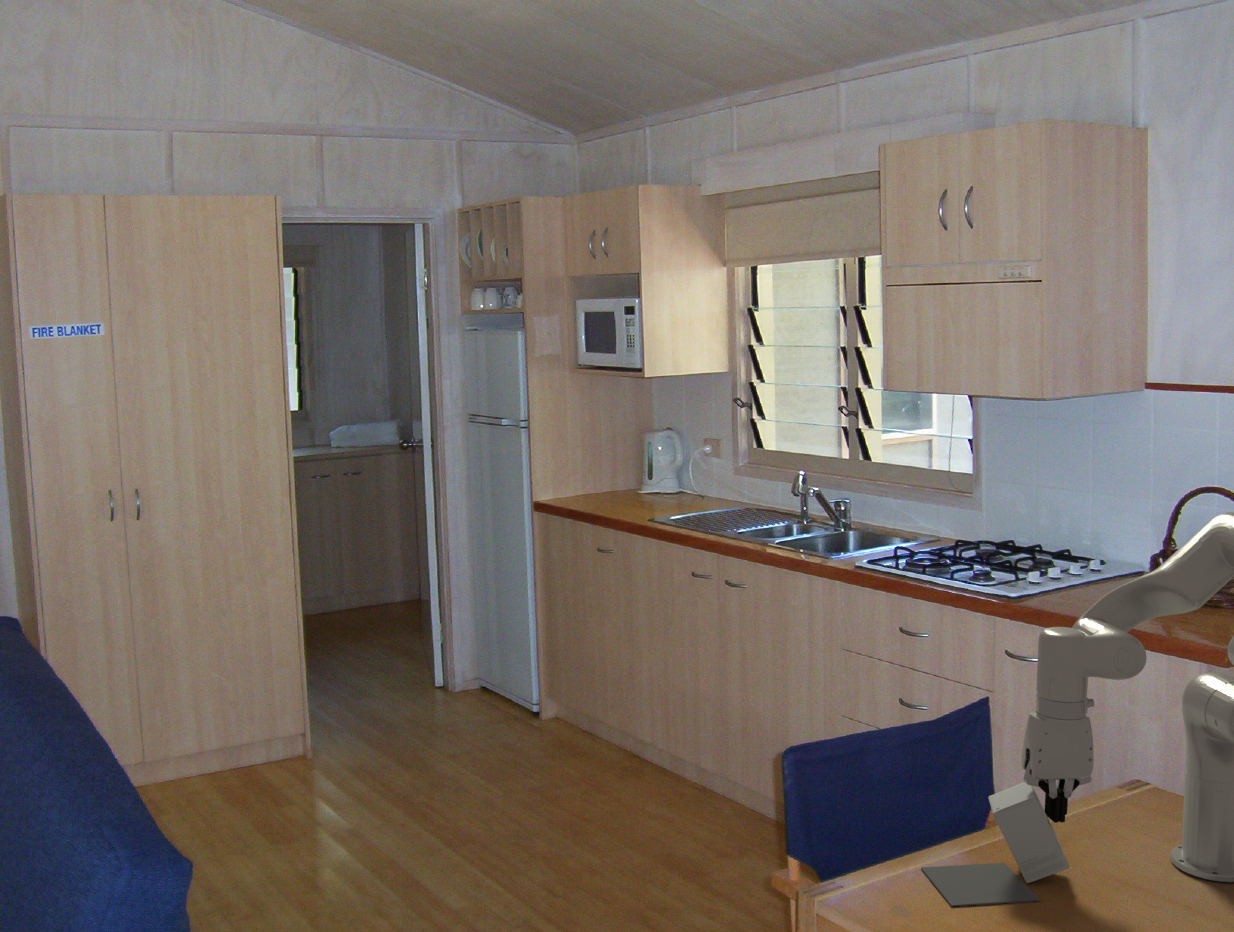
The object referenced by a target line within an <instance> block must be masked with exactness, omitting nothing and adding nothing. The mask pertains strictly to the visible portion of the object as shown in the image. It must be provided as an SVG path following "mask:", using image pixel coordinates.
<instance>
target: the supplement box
mask: <svg viewBox="0 0 1234 932" xmlns="http://www.w3.org/2000/svg"><path fill="white" fill-rule="evenodd" d="M988 801H989V805H990V808H991V812H992V816H993V817H994V820H995V822H996V824H997V825H998V827H999V829H1000V832H1001V833H1002V835H1003V836H1002V837H1003V838H1004V841H1005V842H1006V843H1007V844H1006V845H1008V849H1010V853H1011V854H1012V856H1013V858H1014V860H1015V862H1016V865H1017V866H1018V870H1020V872H1021V875H1022V876H1023V879H1024V881H1025V884H1029V883H1032V882H1035V881H1038V880H1041V879H1044V878H1046V877H1050V876H1052V875H1055V874H1057V873H1060V872H1062V871H1065V870H1067V869H1070V865H1069V862H1068V860H1067V857H1066V855H1065V852H1064V849H1063V846H1062V844H1061V842H1060V840H1059V838H1058V837H1057V834H1056V832H1055V829H1054V828H1053V825H1052V823H1051V822H1050V818H1049V817H1047V815H1046V813H1045V808H1044V806H1043V804H1042V803H1041V801H1040V799H1039V796H1038V794H1037V793H1036V791H1035V789H1034V786H1031V785H1028V784H1026V783H1025V782H1024V781H1023V782H1020V783H1017V784H1016V785H1013V786H1010V787H1008V788H1005V789H1003V790H1001V791H999V792H996V793H994V794H991V795H988Z"/></svg>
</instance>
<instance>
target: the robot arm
mask: <svg viewBox="0 0 1234 932" xmlns="http://www.w3.org/2000/svg"><path fill="white" fill-rule="evenodd" d="M1233 578H1234V512H1231V511H1230V512H1223V513H1219V514H1217V515H1215V516H1214V517H1212V518H1211V519H1210V520H1209V521H1208V522H1207V523H1205V524H1204V525H1202V527H1201V528H1200V529H1199V530H1197V532H1195V534H1194V535H1192V536H1191V537H1190V538H1189V539H1188V540H1187V541H1186V542H1184V543H1183V545H1181V546H1180V547H1179V548H1177V550H1176V551H1175V552H1174V553H1173V554H1172V555H1170V556H1169V557H1168V558H1167V559H1166V560H1165V561H1164V562H1163V563H1162V564H1160V566H1158V567H1157V568H1155V569H1154V570H1152V571H1151V572H1149V573H1147V574H1143V575H1141V576H1139V577H1137V578H1135V579H1133V580H1131V581H1129V582H1126V583H1125V584H1122V585H1120V586H1118V587H1116V588H1114V589H1112V590H1110V591H1109V592H1108V593H1105V594H1104V595H1103V596H1101V598H1099V599H1098V600H1097V601H1096V602H1095V603H1093V604H1092V605H1091V606H1090V607H1089V608H1088V609H1087V610H1085V612H1084V613H1083V614H1081V616H1080V617H1079V618H1078V619H1077V620H1076V621H1075V622H1074V624H1073V625H1072V627H1067V626H1052V627H1051V626H1050V627H1047V628H1045V629H1043V630H1041V632H1040V634H1039V636H1038V644H1037V645H1038V646H1037V668H1036V669H1037V670H1036V671H1037V672H1036V690H1035V708H1034V709H1035V711H1030V712H1029V716H1028V719H1027V721H1026V722H1027V723H1026V726H1025V730H1024V736H1023V741H1022V743H1023V744H1022V751H1021V768H1022V769H1023V770H1024V776H1023V779H1022V780H1023V782H1025V783H1026V784H1028V785H1031V786H1032V787H1036V788H1037V787H1038V788H1040V789H1041V790H1042V791H1043V792H1044V793H1045V794H1044V795H1045V797H1044V811H1045V813H1046V815H1047V817H1048V819H1049V820H1051V821H1052V822H1053V823H1054V824H1055V823H1056V824H1057V823H1059V822H1060V823H1065V822H1066V815H1068V806H1069V805H1068V804H1069V803H1068V801H1069V798H1071V797H1072V794H1073V792H1074V791H1075V790H1076V789H1077V788H1078V787H1079V786H1083V785H1087V784H1089V783H1091V782H1092V774H1093V770H1094V738H1093V728H1092V724H1091V719H1090V716H1089V715H1088V709H1090V708H1094V707H1095V701H1094V699H1093V698H1088V687H1089V686H1088V685H1089V684H1088V682H1089V678H1098V679H1104V680H1106V679H1107V680H1112V681H1113V680H1114V681H1123V680H1129V679H1133V678H1134V677H1136V676H1138V675H1139V674H1140V673H1142V671H1143V669H1144V668H1145V667H1146V663H1147V659H1148V658H1147V657H1148V656H1147V651H1146V648H1145V647H1144V645H1143V644H1142V642H1141V641H1140V640H1139V639H1137V638H1136V637H1135V636H1134V635H1132V634H1131V633H1128V632H1130V631H1132V629H1134V628H1135V627H1137V626H1138V625H1140V624H1142V623H1145V622H1146V621H1149V620H1152V619H1156V618H1159V617H1164V616H1174V615H1180V614H1181V615H1182V614H1186V613H1191V612H1195V611H1197V610H1199V609H1201V608H1202V607H1203V606H1204V605H1205V604H1206V603H1207V602H1208V601H1210V599H1212V598H1213V597H1214V596H1215V595H1216V594H1217V592H1219V591H1220V590H1221V589H1222V588H1223V587H1224V586H1225V585H1226V584H1227V583H1228V582H1230V581H1231V580H1232V579H1233ZM1227 656H1228V660H1229V662H1230V663H1231V664H1232V665H1233V666H1234V634H1233V635H1232V638H1231V639H1230V641H1229V642H1228V646H1227ZM1181 712H1182V720H1183V726H1184V734H1185V766H1184V768H1185V769H1184V770H1185V771H1184V790H1183V812H1182V814H1183V815H1182V830H1181V831H1182V833H1181V835H1182V836H1181V844H1178V845H1176V846H1174V847H1173V848H1172V849H1171V851H1170V860H1171V862H1172V864H1173V866H1175V867H1176V868H1178V869H1179V870H1181V871H1182V872H1184V873H1186V874H1188V875H1191V876H1194V877H1196V878H1201V879H1204V880H1208V881H1213V882H1220V883H1234V677H1233V676H1231V675H1228V674H1227V673H1221V672H1216V671H1213V672H1212V671H1211V672H1205V673H1201V674H1198V675H1196V676H1195V677H1194V678H1192V679H1190V681H1189V682H1188V683H1187V685H1186V687H1185V688H1184V691H1183V694H1182V699H1181Z"/></svg>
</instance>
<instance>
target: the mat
mask: <svg viewBox="0 0 1234 932" xmlns="http://www.w3.org/2000/svg"><path fill="white" fill-rule="evenodd" d="M993 863H994V862H993ZM993 863H976V864H973V863H971V864H958V865H957V864H955V865H944V866H942V865H941V866H940V865H939V866H927V867H925V866H922V867H921V868H920V869H921V871H922V872H923V874H924V875H925V876H926V878H928V880H929V881H930V882H931V884H932V885H933V884H934V885H933V886H934V888H935V889H936V890H937V891H938V892H939V894H940V895H941V896H942V897H943V899H944V900H945V901H946V903H947V904H948V905H949V906H950V907H951V908H957V907H956V906H960V907H972V906H973V905H976V906H986V905H987V906H989V905H1004V903H1005V905H1006V903H1007V904H1023V903H1037V902H1036V901H1039V902H1041V899H1040V898H1039V897H1038V896H1037V895H1036V894H1035V893H1034V892H1033V891H1032V890H1031V888H1029V886H1028V885H1026V882H1024V881H1023V880H1022V879H1021V878H1020V876H1018V875H1017V874H1016V873H1015V872H1014V871H1013V870H1012V869H1011V868H1010V867H1009V866H1008V865H1007V864H1006V863H1005V862H995V863H994V864H993ZM998 863H999V864H998ZM1034 901H1035V902H1034ZM969 905H970V906H969ZM971 905H972V906H971ZM954 906H955V907H954Z"/></svg>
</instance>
